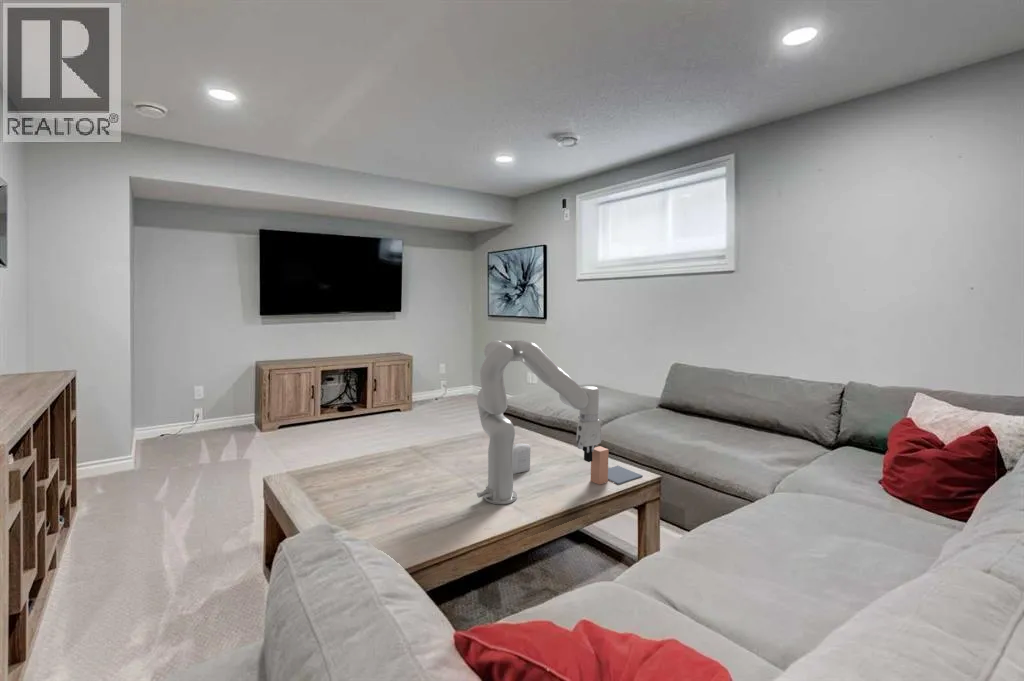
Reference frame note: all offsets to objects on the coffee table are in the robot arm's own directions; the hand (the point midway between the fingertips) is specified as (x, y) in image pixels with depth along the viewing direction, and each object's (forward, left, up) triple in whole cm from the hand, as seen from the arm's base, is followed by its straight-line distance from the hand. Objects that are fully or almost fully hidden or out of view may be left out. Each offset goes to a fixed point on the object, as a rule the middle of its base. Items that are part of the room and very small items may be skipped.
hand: (588, 460), depth 195 cm
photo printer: (-14, +28, -11) cm, 33 cm away
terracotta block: (+7, 0, -10) cm, 12 cm away
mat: (+18, 0, -10) cm, 21 cm away
